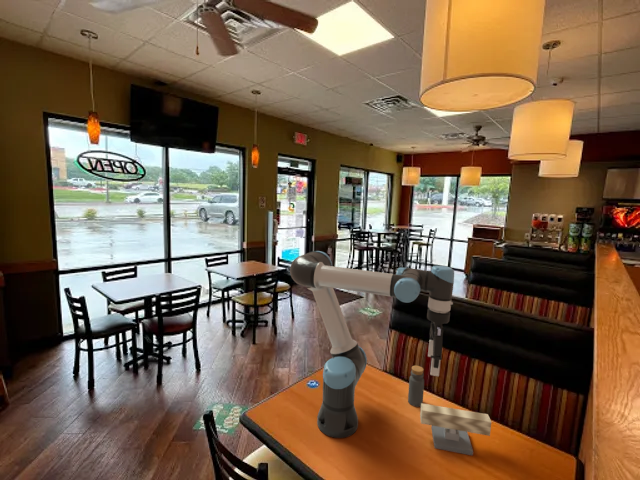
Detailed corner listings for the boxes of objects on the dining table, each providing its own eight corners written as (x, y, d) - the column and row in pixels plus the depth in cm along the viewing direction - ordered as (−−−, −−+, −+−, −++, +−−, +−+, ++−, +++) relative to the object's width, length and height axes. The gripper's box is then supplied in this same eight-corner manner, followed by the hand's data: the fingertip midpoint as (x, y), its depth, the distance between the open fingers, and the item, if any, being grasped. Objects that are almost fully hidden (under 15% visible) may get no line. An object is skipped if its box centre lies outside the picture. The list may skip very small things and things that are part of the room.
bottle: (423, 407, 128) (425, 373, 126) (408, 405, 130) (410, 371, 128) (421, 399, 134) (424, 365, 132) (407, 397, 135) (409, 363, 133)
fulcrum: (434, 448, 107) (435, 431, 107) (431, 427, 117) (432, 412, 116) (472, 455, 105) (474, 439, 104) (466, 434, 114) (467, 418, 114)
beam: (486, 427, 109) (488, 414, 109) (489, 435, 106) (491, 422, 105) (420, 416, 114) (421, 403, 114) (421, 423, 111) (421, 410, 110)
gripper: (455, 324, 100) (448, 386, 103) (446, 300, 124) (440, 351, 127) (430, 320, 102) (423, 382, 105) (425, 297, 126) (420, 348, 129)
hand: (432, 365), depth 116 cm, fingers open, 13 cm apart
